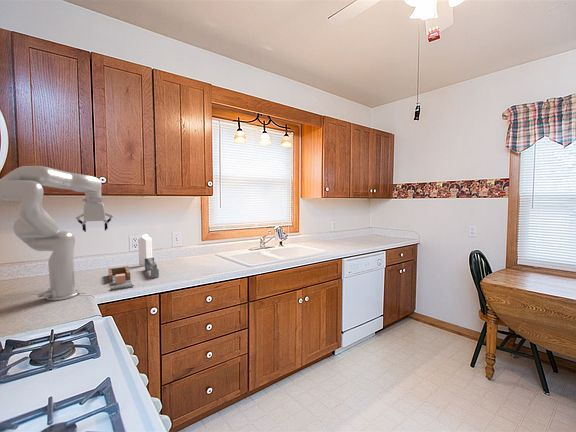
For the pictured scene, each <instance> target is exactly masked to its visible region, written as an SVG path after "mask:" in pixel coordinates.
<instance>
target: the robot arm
mask: <svg viewBox="0 0 576 432" xmlns="http://www.w3.org/2000/svg"><path fill="white" fill-rule="evenodd" d="M43 186H45V187H48V188H49V187H50V188H55V189H60V190H72V191H74V192H78V193H84V196H85V198H82V200H81V201H82V202H85V203H84V204H83V213H82V214H79V215H77V216H75V219H76V221H77V222H78V223H79V224H80V225H81V226H82V231H83V232H84V233H86V232H87V228H86V227H87V226H86V223H87V222H103V223H104V232H106V231H107V230H108V224H109V222H111V221H112V219H113V217H114V216H113V215H112V214H109V213H107V212H106V209H105V204H104V203H103V202H102V201H103V198H102V186H103V185H102V182H101V180H100V179H99V178H97V177H96V176H93V175H92V176H91V175H87V174H80V173H75V172H69V171H64V170H59V169H55V168H54V167H53V168H52V167H49V166H44V165H25V166H24V165H22V166H19V167H17V168H15V169H14V170H13V169H12V171H10V172H8V173H7V174H6V175H4V176H3V177H1V178H0V201H4V202H7V201H8V202H10V201H11V202H20V204H19V209H18V210H17V216H18V218H17V219H16V220H15V221H14V222H13V226H12V229H13V232H14V234H15V236H16V237H17V238H18V239H19V240H21V241H22V242H23V243H25V244H26V245H27V246H28V247H29V248H31V249H32V250H34V251H36V252H52V253H51V254H50V256H49V257H48V261H47V263H48V277H49V288H47V290H45V291H44V292H38V293H37V294H36V295H37V298H46V300H47V301H61V300H62V301H63V300H66V299H71V298H74V297H76V296H78V295H80V290H79V289H77V288H76V279H75V275H76V274H75V262H74V261H75V260H74V250H75V243H76V238H75V236H74V234H73V233H72V232H70V231H65V230H60V228H59V224H58V222H56V221H55V220H54V218H53V217H51V215H49V213H48V212H47V211H46V210H45V208H44V206H43V197H44V192H45V191H44V188H43ZM82 217H83V220H81V218H82ZM106 217H108V219H107V220H106Z"/></svg>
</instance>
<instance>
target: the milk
mask: <svg viewBox="0 0 576 432" xmlns="http://www.w3.org/2000/svg"><path fill="white" fill-rule="evenodd" d="M137 242H138V244H137V245H138V264H139V266H138V267H139V268H140V267H145V260H144V259H146V258H154V257H153V239H152V237H150V236H149V234H148V233H145V234H141V237H139V238H138V239H137Z"/></svg>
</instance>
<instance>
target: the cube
mask: <svg viewBox="0 0 576 432" xmlns="http://www.w3.org/2000/svg"><path fill="white" fill-rule="evenodd" d="M115 276H116V285H118V284H124V283H126V280H125V273H124V274H117V275H115Z"/></svg>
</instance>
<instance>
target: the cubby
mask: <svg viewBox="0 0 576 432" xmlns="http://www.w3.org/2000/svg"><path fill="white" fill-rule="evenodd" d="M107 269H108V280H109V288H110V289H109V290H110V292H113V290H114V291H118V290H119V289H120V290H126V289H131V288H134V287H133V282H132V281H131V271H130V269H129V266H119V267H112V268H107ZM124 273H125V280H126V283H124V284H118V285H116V276H115V275H117V274H124ZM125 288H126V289H125Z"/></svg>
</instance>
